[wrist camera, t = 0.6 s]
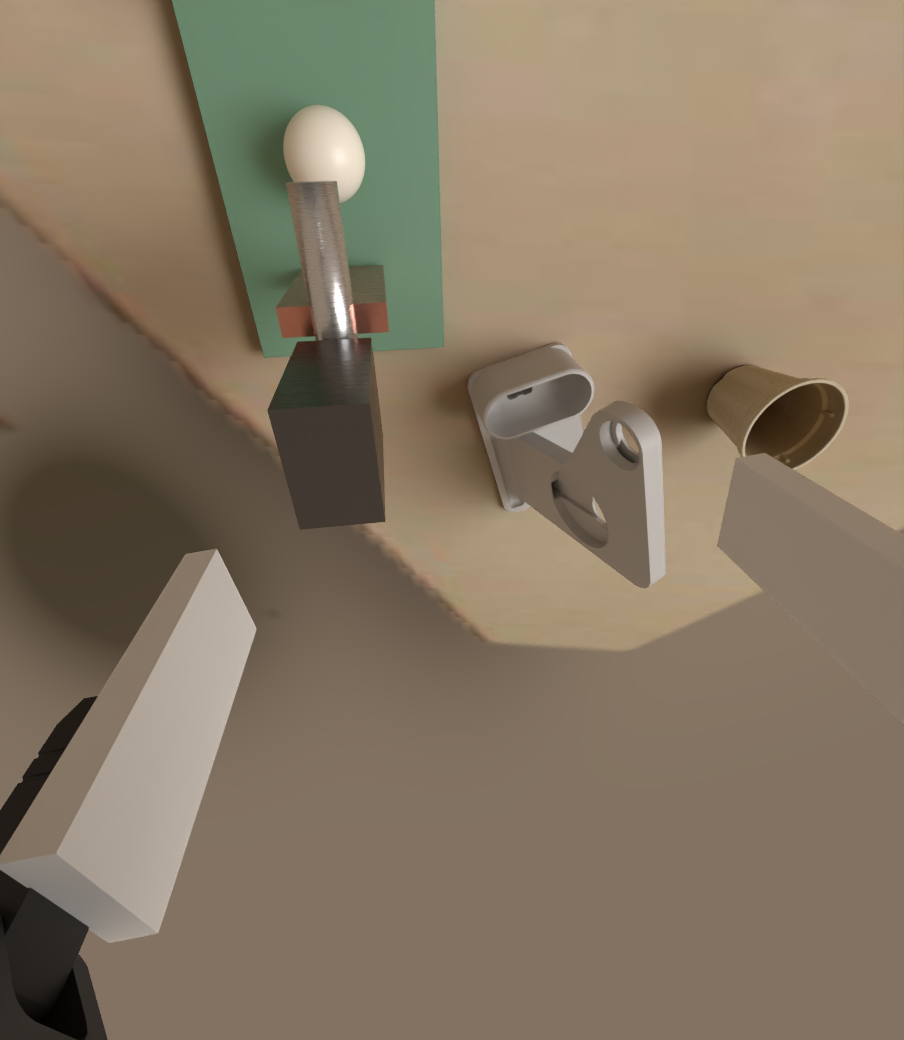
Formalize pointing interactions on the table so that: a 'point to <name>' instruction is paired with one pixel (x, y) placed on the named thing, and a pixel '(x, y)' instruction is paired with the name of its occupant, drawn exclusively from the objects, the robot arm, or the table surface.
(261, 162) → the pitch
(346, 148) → the ball
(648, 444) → the phone holder
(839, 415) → the flower pot
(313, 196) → the multicoloured piece
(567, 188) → the table surface
